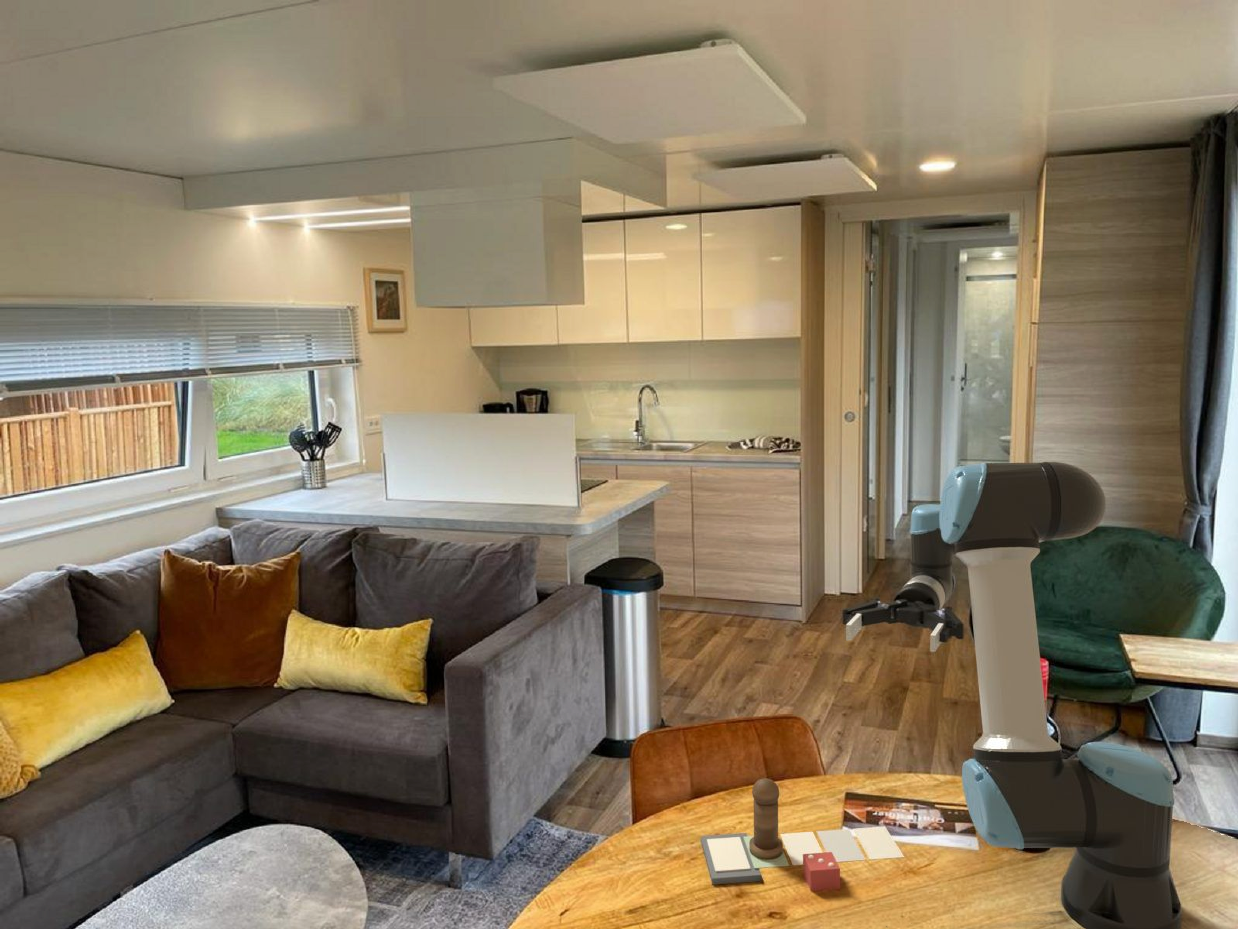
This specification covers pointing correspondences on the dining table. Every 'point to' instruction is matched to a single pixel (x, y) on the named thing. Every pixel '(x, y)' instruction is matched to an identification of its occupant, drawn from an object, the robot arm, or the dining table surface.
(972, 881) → the dining table surface
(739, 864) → the game board
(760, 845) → the pawn
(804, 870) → the red die
